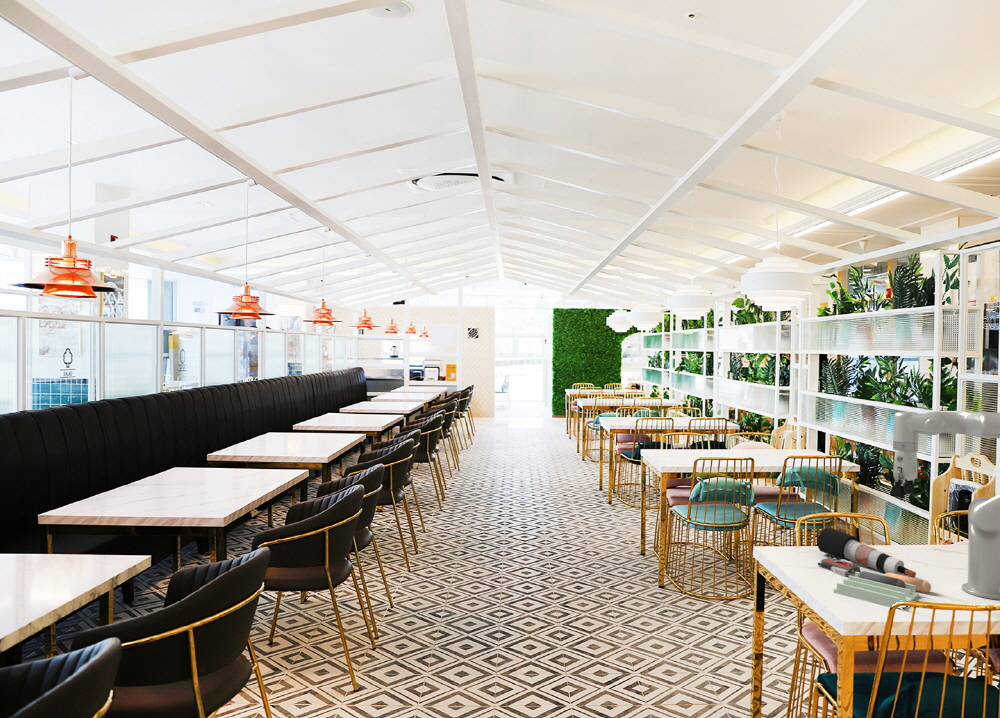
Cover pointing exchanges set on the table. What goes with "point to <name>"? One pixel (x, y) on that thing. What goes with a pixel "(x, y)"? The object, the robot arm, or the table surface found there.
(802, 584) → the table surface
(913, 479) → the robot arm
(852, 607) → the table surface
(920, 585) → the tan capsule
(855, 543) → the cable
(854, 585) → the rack
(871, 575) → the gray pill-shaped rod
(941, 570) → the table surface
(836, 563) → the walkie-talkie
